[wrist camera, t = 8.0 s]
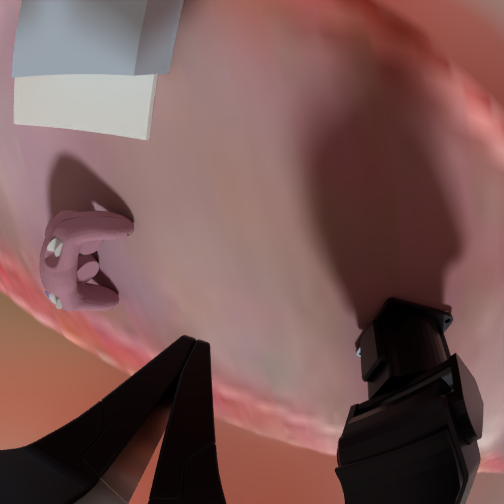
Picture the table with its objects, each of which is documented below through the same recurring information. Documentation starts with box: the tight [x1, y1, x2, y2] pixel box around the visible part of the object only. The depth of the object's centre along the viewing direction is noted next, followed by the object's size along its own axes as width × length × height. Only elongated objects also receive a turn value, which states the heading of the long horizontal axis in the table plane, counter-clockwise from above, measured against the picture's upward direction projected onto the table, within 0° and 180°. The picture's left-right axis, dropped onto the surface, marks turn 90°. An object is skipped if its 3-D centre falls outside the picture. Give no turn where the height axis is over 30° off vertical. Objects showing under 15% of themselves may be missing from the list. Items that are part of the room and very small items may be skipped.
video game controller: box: [40, 209, 134, 311], centre depth 22 cm, size 10×5×7 cm, turn 155°
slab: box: [12, 0, 184, 78], centre depth 12 cm, size 4×7×10 cm
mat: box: [14, 74, 158, 140], centre depth 15 cm, size 14×16×1 cm
